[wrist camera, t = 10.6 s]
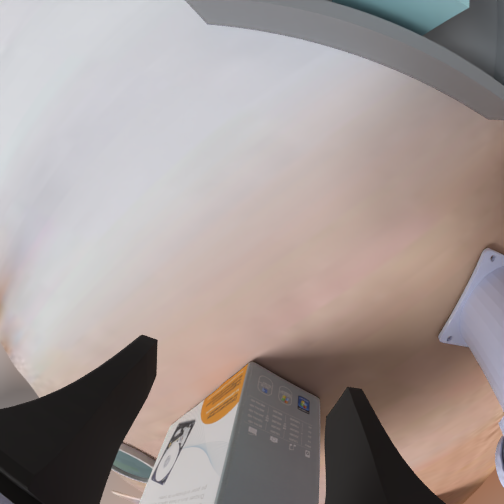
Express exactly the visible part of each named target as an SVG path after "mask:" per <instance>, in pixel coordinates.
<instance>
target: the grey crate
mask: <svg viewBox="0 0 504 504" xmlns="http://www.w3.org/2000/svg"><path fill="white" fill-rule="evenodd" d="M185 1H186V2H187V3H188V4H189V5H190V6H191V7H192V8H193V9H194V10H195V11H196V12H197V14H198V15H199V16H200V17H201V18H202V19H203V20H204V21H205V22H206V23H207V24H210V25H221V26H230V27H238V28H246V29H252V30H259V31H264V32H270V33H275V34H280V35H285V36H290V37H294V38H299V39H303V40H307V41H311V42H315V43H318V44H322V45H326V46H329V47H332V48H336V49H339V50H342V51H345V52H348V53H352V54H355V55H357V56H360V57H363V58H366V59H369V60H371V61H374V62H377V63H379V64H382V65H384V66H387V67H389V68H392V69H394V70H397V71H399V72H401V73H404V74H406V75H408V76H410V77H412V78H415V79H417V80H419V81H421V82H423V83H425V84H427V85H429V86H431V87H433V88H435V89H437V90H439V91H441V92H443V93H445V94H447V95H448V96H450V97H452V98H454V99H456V100H457V101H459V102H461V103H463V104H464V105H466V106H468V107H469V108H471V109H473V110H474V111H476V112H477V113H479V114H481V115H482V116H484V117H485V118H487V119H491V120H504V0H469V8H468V9H466V10H464V11H462V12H461V13H459V14H457V15H455V16H454V17H452V18H450V19H449V20H447V21H445V22H444V23H442V24H440V25H439V26H437V27H435V28H434V29H432V30H431V31H429V32H427V33H426V34H424V35H423V36H421V35H419V34H417V33H415V32H412V31H410V30H408V29H406V28H404V27H401V26H399V25H397V24H394V23H392V22H389V21H387V20H384V19H382V18H379V17H377V16H374V15H371V14H368V13H365V12H363V11H360V10H357V9H354V8H350V7H347V6H344V5H341V4H337V3H334V2H332V0H185Z"/></svg>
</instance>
